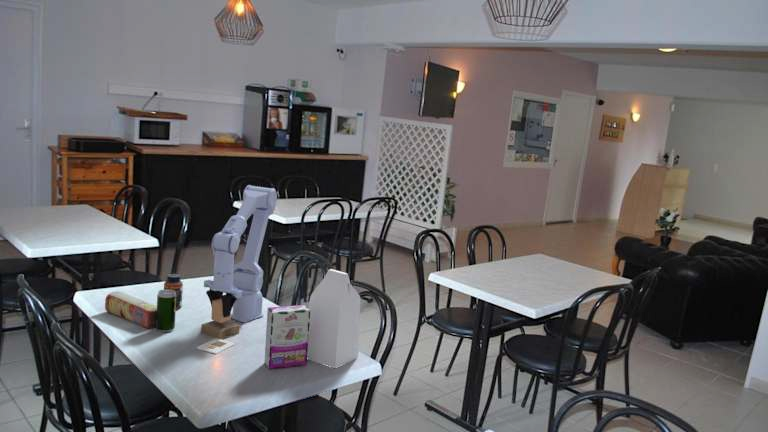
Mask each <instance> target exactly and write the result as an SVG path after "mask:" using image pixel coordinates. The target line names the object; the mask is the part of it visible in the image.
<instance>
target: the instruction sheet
mask: <svg viewBox="0 0 768 432" xmlns="http://www.w3.org/2000/svg"><path fill="white" fill-rule="evenodd" d="M235 345H236V343H235V342H232V341H228V340H225V339H218V338H212V339H211V340H209V341H207V342H205V343H203V344H200V345H199V346H197V347H196V348H195V349H197V350H201V351H204V352H206V353H211V354H214V355H218V354H220V353H222V352H223V351H225V350H228V349H229V348H231V347H233V346H235Z"/></svg>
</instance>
